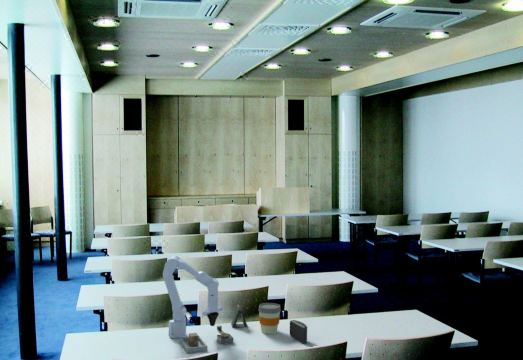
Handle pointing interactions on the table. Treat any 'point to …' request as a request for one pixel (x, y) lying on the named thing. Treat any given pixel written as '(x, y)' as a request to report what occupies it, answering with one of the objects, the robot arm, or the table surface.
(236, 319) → the phone stand
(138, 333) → the table surface
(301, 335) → the leaning round-cornered charcoal block
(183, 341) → the tray
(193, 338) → the block
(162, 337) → the table surface
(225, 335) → the crank
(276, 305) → the reusable coffee cup
